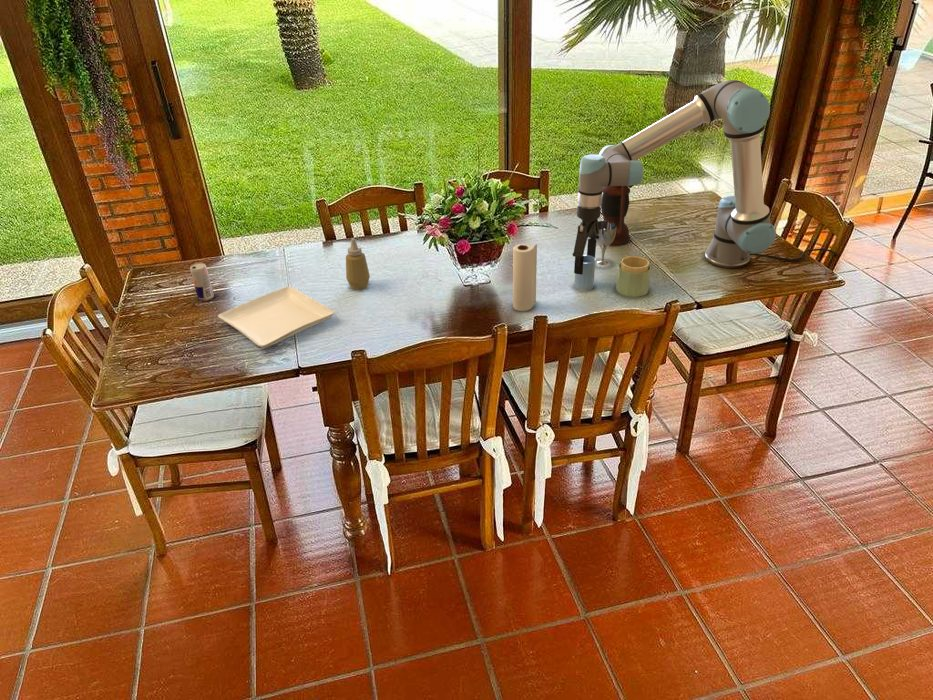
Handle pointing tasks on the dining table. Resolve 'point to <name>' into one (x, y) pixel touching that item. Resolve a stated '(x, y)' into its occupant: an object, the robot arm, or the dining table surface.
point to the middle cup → (634, 264)
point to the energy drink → (201, 281)
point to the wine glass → (605, 237)
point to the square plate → (276, 316)
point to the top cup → (586, 274)
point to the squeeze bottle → (356, 267)
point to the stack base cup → (632, 282)
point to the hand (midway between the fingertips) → (584, 265)
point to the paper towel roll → (524, 276)
